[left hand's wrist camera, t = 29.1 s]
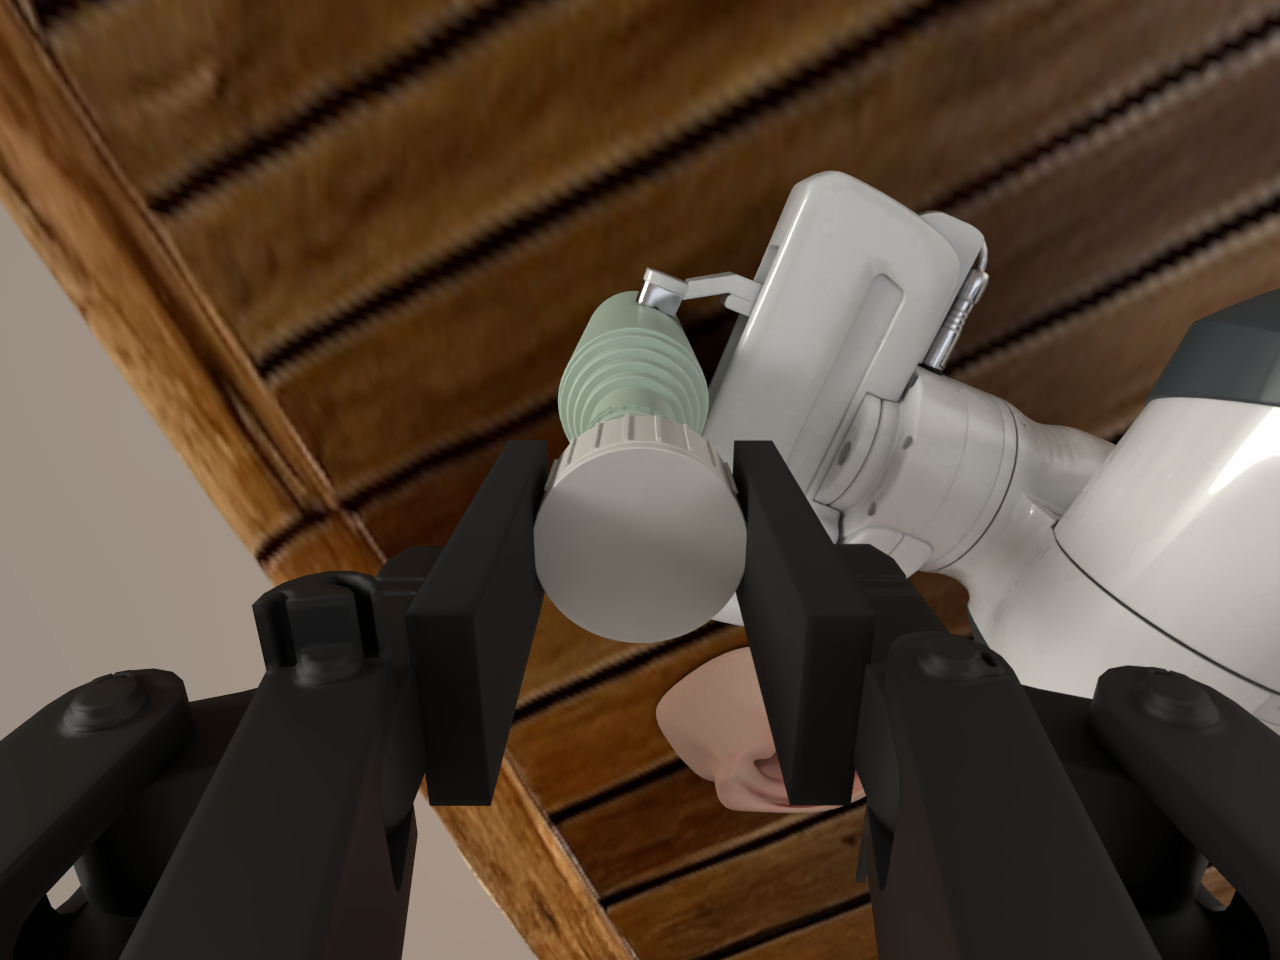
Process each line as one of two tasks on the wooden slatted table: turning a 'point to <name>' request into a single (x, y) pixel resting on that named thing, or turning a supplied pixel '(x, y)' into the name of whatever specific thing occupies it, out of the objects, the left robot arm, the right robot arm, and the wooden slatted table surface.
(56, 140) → the wooden slatted table surface
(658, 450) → the cap
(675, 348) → the bottle
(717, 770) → the anatomical model
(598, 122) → the wooden slatted table surface
